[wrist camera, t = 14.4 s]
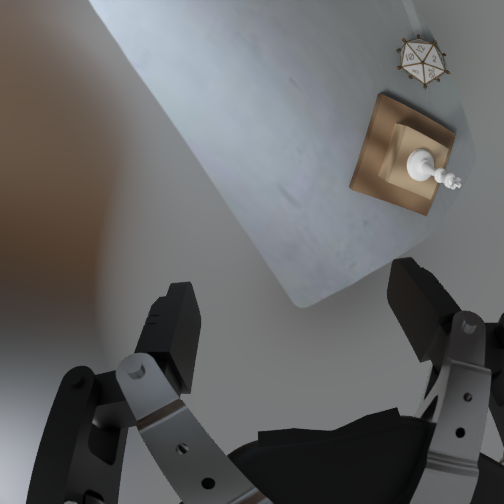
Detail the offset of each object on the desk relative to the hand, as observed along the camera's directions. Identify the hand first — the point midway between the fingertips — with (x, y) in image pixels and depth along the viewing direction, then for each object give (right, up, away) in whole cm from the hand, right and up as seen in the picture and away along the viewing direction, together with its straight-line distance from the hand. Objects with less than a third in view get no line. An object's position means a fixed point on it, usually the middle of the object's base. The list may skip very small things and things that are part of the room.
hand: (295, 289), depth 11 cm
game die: (+23, +31, +21) cm, 44 cm away
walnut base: (+23, +17, +29) cm, 41 cm away
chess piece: (+23, +14, +25) cm, 37 cm away
